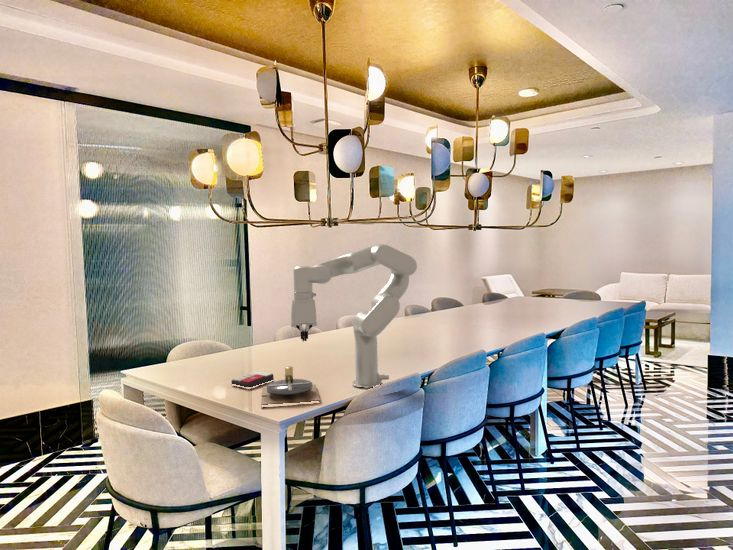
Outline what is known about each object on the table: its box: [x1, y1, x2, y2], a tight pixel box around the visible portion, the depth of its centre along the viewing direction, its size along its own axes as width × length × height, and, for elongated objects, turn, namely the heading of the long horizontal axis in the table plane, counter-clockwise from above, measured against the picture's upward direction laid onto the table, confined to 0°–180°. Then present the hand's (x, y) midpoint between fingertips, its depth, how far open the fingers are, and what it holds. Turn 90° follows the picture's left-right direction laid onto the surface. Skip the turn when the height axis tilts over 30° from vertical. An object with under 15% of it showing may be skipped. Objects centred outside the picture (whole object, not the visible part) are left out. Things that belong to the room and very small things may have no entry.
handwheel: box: [266, 366, 313, 396], centre depth 202 cm, size 18×18×9 cm
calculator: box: [230, 370, 275, 387], centre depth 224 cm, size 11×4×15 cm
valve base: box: [260, 383, 321, 406], centre depth 202 cm, size 22×22×2 cm
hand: (304, 340), depth 209 cm, fingers closed
